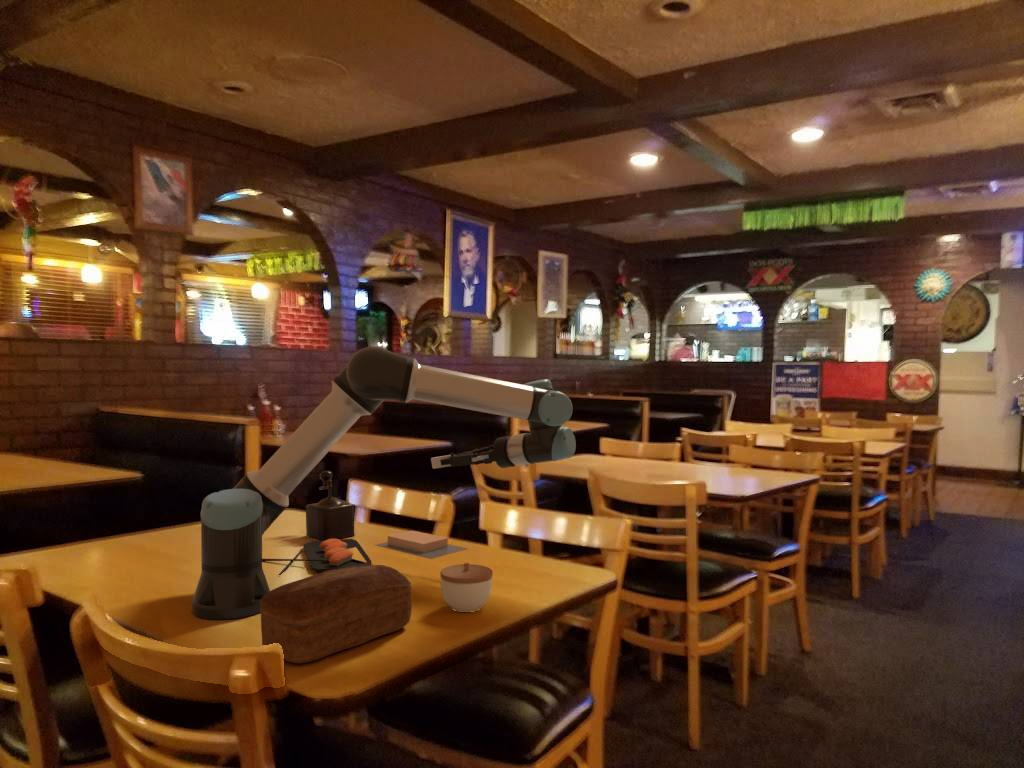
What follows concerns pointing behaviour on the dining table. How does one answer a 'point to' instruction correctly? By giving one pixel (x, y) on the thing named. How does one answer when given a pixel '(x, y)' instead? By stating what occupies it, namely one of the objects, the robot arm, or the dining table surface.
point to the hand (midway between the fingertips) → (433, 463)
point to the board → (429, 555)
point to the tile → (417, 541)
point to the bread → (335, 611)
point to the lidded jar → (466, 586)
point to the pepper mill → (329, 515)
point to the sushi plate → (329, 555)
